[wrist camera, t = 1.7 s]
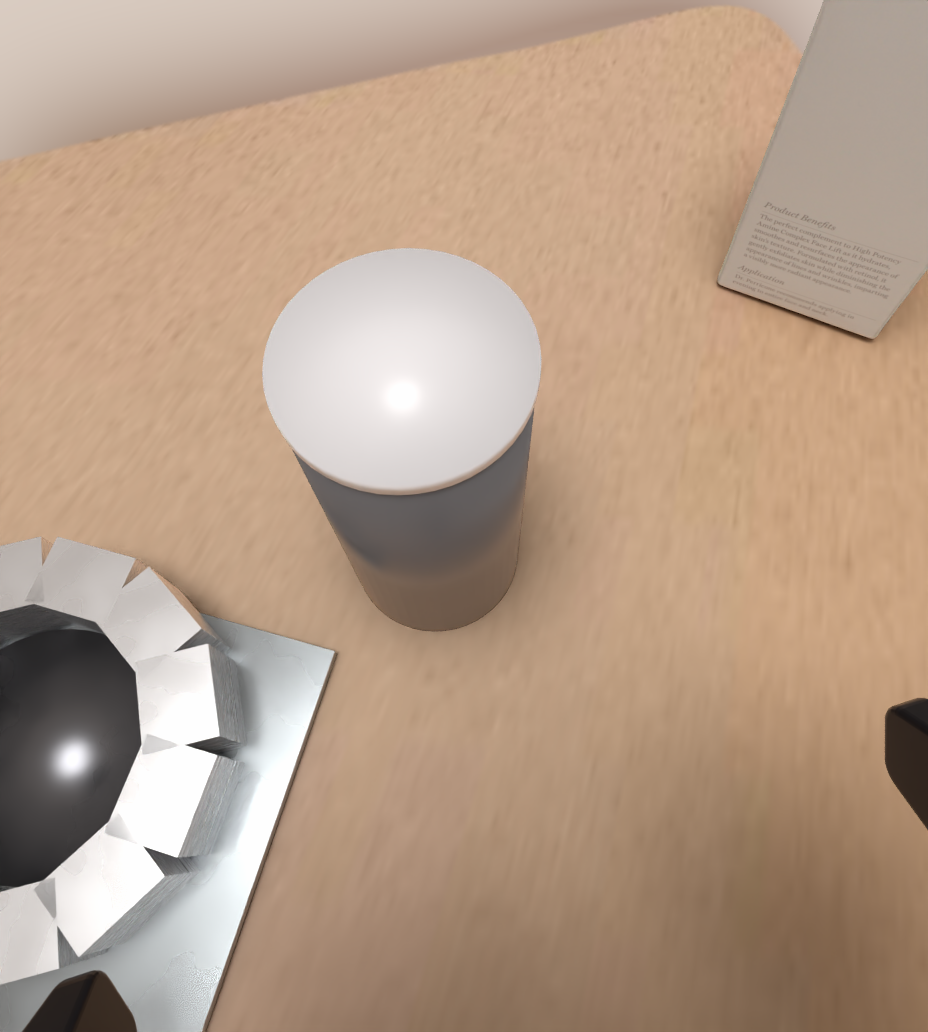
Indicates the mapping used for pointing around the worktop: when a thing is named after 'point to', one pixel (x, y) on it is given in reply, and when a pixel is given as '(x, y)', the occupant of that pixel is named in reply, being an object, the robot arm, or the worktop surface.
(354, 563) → the lens cylinder
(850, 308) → the skincare box
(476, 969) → the worktop surface
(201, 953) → the barrel ring
